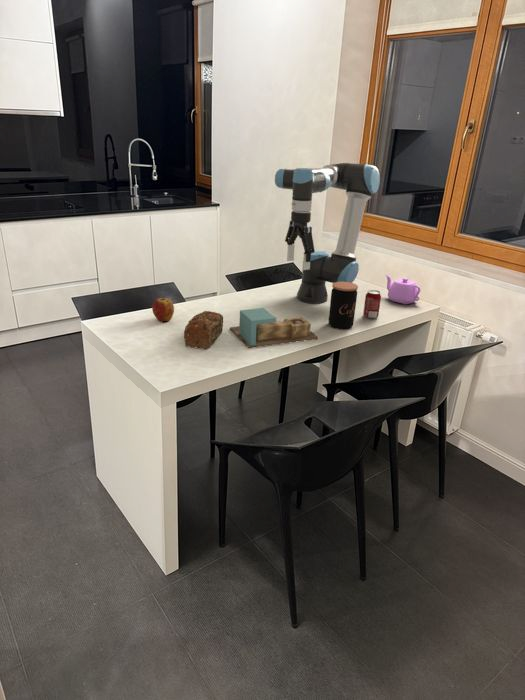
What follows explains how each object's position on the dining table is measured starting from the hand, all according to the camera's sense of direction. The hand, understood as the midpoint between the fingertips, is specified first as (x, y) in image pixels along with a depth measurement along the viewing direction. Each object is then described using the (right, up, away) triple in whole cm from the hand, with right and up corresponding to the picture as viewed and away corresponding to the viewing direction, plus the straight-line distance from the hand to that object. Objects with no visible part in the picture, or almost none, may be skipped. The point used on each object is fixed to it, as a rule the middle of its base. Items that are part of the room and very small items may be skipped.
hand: (298, 265), depth 199 cm
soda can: (+34, -20, +25) cm, 47 cm away
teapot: (+55, -10, +49) cm, 74 cm away
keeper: (-17, -31, -6) cm, 35 cm away
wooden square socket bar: (-7, -28, -2) cm, 29 cm away
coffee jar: (+19, -24, +13) cm, 33 cm away
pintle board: (-10, -28, +1) cm, 30 cm away
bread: (-37, -31, -7) cm, 48 cm away
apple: (-56, -22, +9) cm, 61 cm away
